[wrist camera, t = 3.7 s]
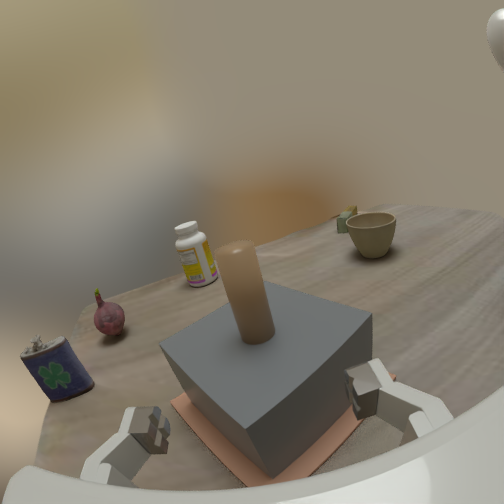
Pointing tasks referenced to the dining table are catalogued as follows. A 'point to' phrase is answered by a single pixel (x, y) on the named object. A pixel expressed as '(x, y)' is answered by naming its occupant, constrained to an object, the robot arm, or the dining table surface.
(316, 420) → the cover
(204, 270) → the supplement bottle
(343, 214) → the medication box
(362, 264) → the dining table surface
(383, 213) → the flower pot
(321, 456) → the mat
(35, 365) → the flask
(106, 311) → the vegetable
